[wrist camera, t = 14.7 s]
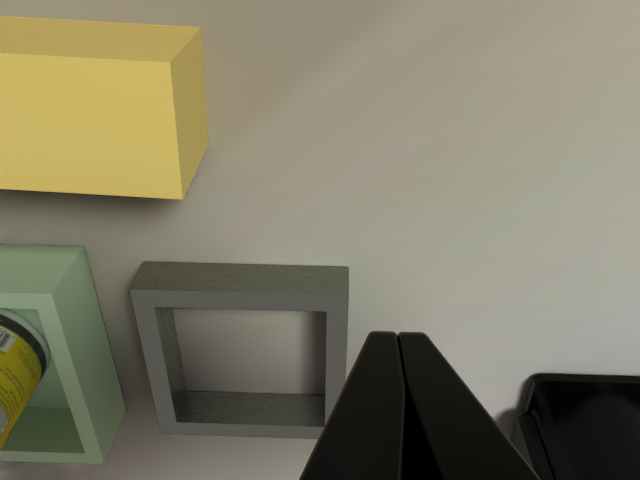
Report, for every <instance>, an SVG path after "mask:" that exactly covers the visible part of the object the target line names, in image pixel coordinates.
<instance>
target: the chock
mask: <svg viewBox="0 0 640 480" xmlns="http://www.w3.org/2000/svg"><path fill="white" fill-rule="evenodd" d="M207 148H208V130H207V114H206V98H205V82H204V66H203V50H202V34H201V27H187V26H170V25H152V24H135V23H117V22H99V21H82V20H64V19H47V18H29V17H12V16H0V189H12V190H29V191H46V192H63V193H80V194H98V195H115V196H132V197H149V198H166V199H183V198H184V196H185V194H186V192H187V190H188V187H189V185H190V183H191V181H192V179H193V177H194V175H195V173H196V171H197V169H198V167H199V165H200V163H201V161H202V159H203V156H204V154H205V152H206V150H207Z"/></svg>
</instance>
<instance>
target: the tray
mask: <svg viewBox="0 0 640 480" xmlns="http://www.w3.org/2000/svg"><path fill="white" fill-rule="evenodd" d="M0 308H5V309H7V310H9V311H12V312H14V313H16V314H17V315H19V316H21V317H22V318H24V319H25V320H26V321H28V322H29V323H30V324H31V325H32V326H33V327H34V328H35V329H36V330H37V331H38V332H39V333H40V334H41V336H42V337H43V339H44V340H45V342H46V344H47V347H48V351H49V363H48V367H47V369H46V371H45V373H44V375H43V377H42V379H41V380H40V382H39V384H38V385H37V387H36V389H35V391H34V393H33V394H32V396H31V398H30V399H29V401H28V403H27V405H26V406H25V408H24V410H23V412H22V413H21V415H20V417H19V418H18V420H17V422H16V423H15V426H14V427H13V429H12V430H11V432H10V434H9V436H8V437H7V439H6V441H5V443H4V444H3V446H2V448H1V449H0V461H19V462H48V463H76V464H104V465H105V462H106V460H107V457H108V455H109V452H110V450H111V447H112V445H113V442H114V440H115V437H116V435H117V432H118V430H119V427H120V425H121V422H122V420H123V417H124V415H125V412H126V407H125V403H124V400H123V396H122V392H121V388H120V384H119V380H118V376H117V372H116V369H115V365H114V361H113V357H112V353H111V349H110V345H109V341H108V338H107V334H106V330H105V326H104V322H103V318H102V314H101V311H100V307H99V303H98V299H97V295H96V291H95V287H94V283H93V280H92V276H91V272H90V268H89V264H88V260H87V256H86V252H85V249H84V246H45V245H4V244H0Z"/></svg>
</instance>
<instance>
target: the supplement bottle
mask: <svg viewBox="0 0 640 480" xmlns="http://www.w3.org/2000/svg"><path fill="white" fill-rule="evenodd" d="M48 363H49V351H48V347H47V344H46V342H45V340H44V339H43V337H42V336H41V334H40V333H39V332H38V331H37V330H36V329H35V328H34V327H33V326H32V325H31V324H30V323H29V322H28V321H26V320H25V319H24V318H22V317H21V316H19V315H17V314H16V313H14V312H12V311H9V310H7V309H5V308H0V449H1V448H2V446H3V444H4V443H5V441H6V439H7V437H8V436H9V434H10V432H11V430H12V429H13V427H14V426H15V423H16V422H17V420H18V418H19V417H20V415H21V413H22V412H23V410H24V408H25V406H26V405H27V403H28V401H29V399H30V398H31V396H32V394H33V393H34V391H35V389H36V387H37V385H38V384H39V382H40V380H41V379H42V377H43V375H44V373H45V371H46V369H47V367H48Z"/></svg>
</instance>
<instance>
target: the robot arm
mask: <svg viewBox="0 0 640 480" xmlns="http://www.w3.org/2000/svg"><path fill="white" fill-rule="evenodd" d="M543 385H545V386H543ZM299 480H640V377H633V376H599V375H566V374H540V375H538V376H536V377H534V378H533V380H532V381H531V384H530V388H529V391H528V395H527V398H526V402H525V406H524V409H523V413H520V414H519V415H518V417H517V418H516V422H515V426H514V429H513V433H512V436H511V440H509V439H508V437H507V436H506V435H505V434H504V432H503V431H502V430H501V429H500V427H499V426H498V425H497V423H496V422H495V421H494V420H493V418H492V417H491V416H490V415H489V413H488V412H487V411H486V410H485V408H484V407H483V406H482V405H481V403H480V402H479V401H478V399H477V398H476V397H475V396H474V394H473V393H472V392H471V391H470V389H469V388H468V387H467V386H466V384H465V383H464V382H463V380H462V379H461V378H460V377H459V375H458V374H457V373H456V372H455V370H454V369H453V368H452V367H451V365H450V364H449V363H448V361H447V360H446V359H445V358H444V356H443V355H442V354H441V353H440V351H439V350H438V349H437V348H436V346H435V345H434V344H433V342H432V341H431V340H430V339H429V337H428V336H427V335H426V334H424V333H422V332H400V333H399V334H398V335H397V334H396V333H395V332H392V331H372V332H370V333H369V334H368V336H367V338H366V341H365V343H364V345H363V347H362V349H361V351H360V353H359V355H358V357H357V359H356V362H355V364H354V366H353V368H352V370H351V372H350V374H349V376H348V378H347V380H346V383H345V385H344V387H343V389H342V391H341V393H340V395H339V397H338V399H337V401H336V403H335V406H334V408H333V410H332V412H331V414H330V416H329V418H328V420H327V422H326V424H325V427H324V429H323V431H322V433H321V435H320V437H319V439H318V441H317V443H316V445H315V448H314V450H313V452H312V454H311V456H310V458H309V460H308V462H307V464H306V466H305V468H304V471H303V473H302V475H301V477H300V479H299Z"/></svg>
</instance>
